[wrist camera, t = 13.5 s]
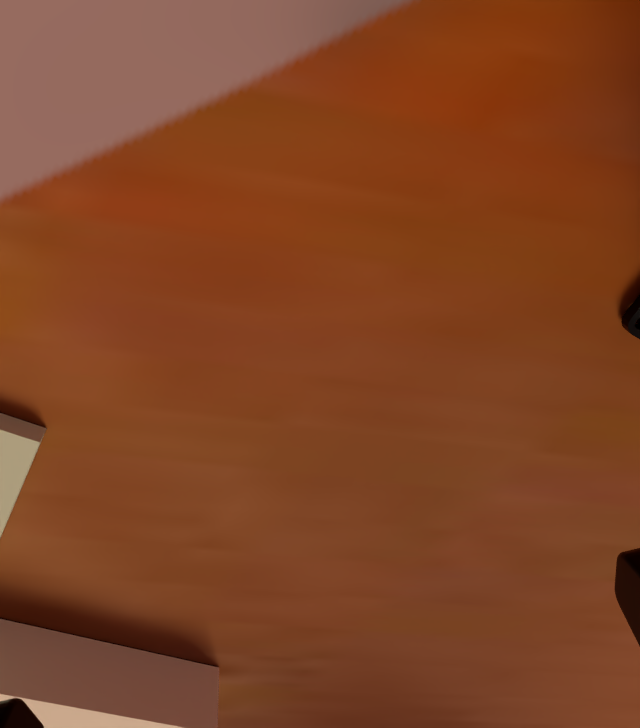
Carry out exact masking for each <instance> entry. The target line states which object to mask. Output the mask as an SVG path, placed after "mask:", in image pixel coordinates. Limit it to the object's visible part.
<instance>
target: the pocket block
mask: <svg viewBox="0 0 640 728" xmlns="http://www.w3.org/2000/svg"><path fill="white" fill-rule="evenodd" d="M218 692H219V667H214V666H210V665H205V664H201V663H196V662H192V661H187V660H183V659H178V658H174V657H169V656H165V655H160V654H156V653H151V652H147V651H143V650H138V649H134V648H129V647H125V646H120V645H116V644H111V643H107V642H102V641H98V640H93V639H89V638H84V637H80V636H75V635H71V634H66V633H62V632H57V631H53V630H49V629H44V628H40V627H35V626H31V625H26V624H22V623H17V622H13V621H8V620H4V619H0V701H4V700H8V699H12V698H19V699H22V700H23V701H24V702H25V703H26V704H27V706H28V707H29V708H30V709H31V711H32V712H33V713H34V714H35V715H36V717H37V718H38V719H39V720H40V722H41V723H42V724H43V726H44V728H217V726H218Z"/></svg>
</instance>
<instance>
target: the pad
mask: <svg viewBox="0 0 640 728" xmlns="http://www.w3.org/2000/svg"><path fill="white" fill-rule="evenodd" d="M46 429H47V428H44V427H41V426H38V425H35V424H32V423H29V422H26V421H23V420H20V419H17V418H14V417H11V416H8V415H5V414H2V413H0V538H1V535H2V533H3V531H4V528H5V526H6V524H7V521H8V519H9V516H10V514H11V512H12V509H13V507H14V505H15V502H16V500H17V498H18V495H19V493H20V490H21V488H22V486H23V483H24V481H25V479H26V476H27V474H28V471H29V469H30V467H31V464H32V462H33V460H34V457H35V455H36V453H37V450H38V448H39V445H40V443H41V441H42V438H43V436H44V434H45V431H46Z"/></svg>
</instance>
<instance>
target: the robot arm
mask: <svg viewBox="0 0 640 728" xmlns="http://www.w3.org/2000/svg"><path fill="white" fill-rule="evenodd" d="M639 318H640V295H639V297H638V298H637V299H636V300H635V301H634V303H633V304H632V305H631V306H630V307H629V309H628V310H627V311H626V312H625V314H624V315H623V317H622V326H623V327H624V328H625V329H626V330H627V331H628V332H629V333H631V334H632V335H633V336H635V337H637V338H639V339H640V322H639V323H637V324H635V323H636V321H637V319H639ZM615 594H616V598H617V601H618V603H619V605H620V608H621V610H622V612H623V614H624V616H625V618H626V620H627V622H628V624H629V626H630V628H631V630H632V632H633V634H634V636H635V638H636V640H637V642H638V644H639V646H640V548H638V549H633V550H629V551H625V552H622V553H620V554H619V555H618V557H617V565H616V577H615ZM0 728H44V726H43V724H42V723H41V722H40V720H39V719H38V718H37V717H36V715H35V714H34V713H33V712H32V711H31V709H30V708H29V707H28V706H27V704H26V703H25V702H24V701H23V700H22V699H19V698H12V699H8V700H4V701H0Z"/></svg>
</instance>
